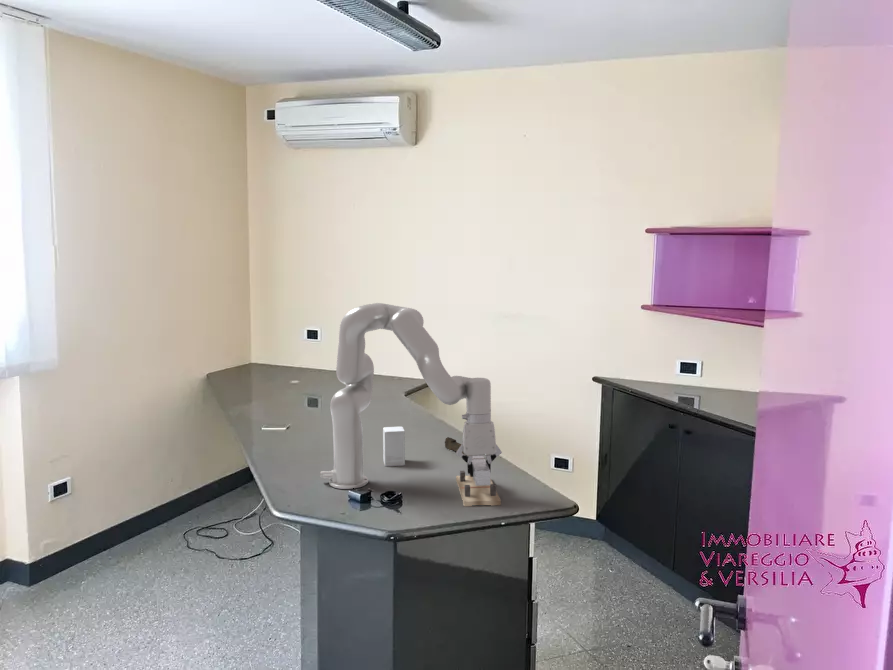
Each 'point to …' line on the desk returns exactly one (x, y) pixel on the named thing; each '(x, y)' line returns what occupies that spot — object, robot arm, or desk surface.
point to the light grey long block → (480, 471)
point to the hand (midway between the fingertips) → (479, 474)
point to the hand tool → (452, 444)
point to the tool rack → (476, 492)
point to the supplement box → (393, 446)
